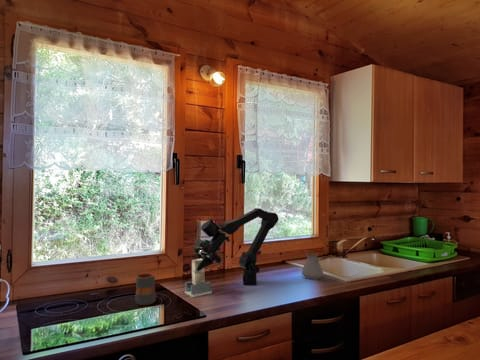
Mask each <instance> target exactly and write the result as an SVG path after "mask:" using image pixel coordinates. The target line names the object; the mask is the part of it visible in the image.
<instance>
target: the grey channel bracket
mask: <svg viewBox="0 0 480 360" xmlns="http://www.w3.org/2000/svg"><path fill="white" fill-rule="evenodd" d="M184 287H185V288H184V289H185V290H184V294H186V295H188V296H190V297H191V298H195V297H196V298H197V297H200V296H205V295H209V294H212V293H213V291H212V282H211V281H205V283H200V284H195V285H194V284H192V280H191V281H186V282H184Z"/></svg>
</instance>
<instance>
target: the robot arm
mask: <svg viewBox="0 0 480 360" xmlns="http://www.w3.org/2000/svg"><path fill="white" fill-rule="evenodd" d="M257 218H260V219H261V220H260V227H259V229H258V231H257V233H256V235H255V237H254V238H253V241H252V243H251V244H250V246H249V248H248V250H247V251H242V253H241V255H240V257H239V258H238V259H239V261H238V263H239V266H240V267H241V270H242V271H243V274H242V284H243V286H257V284H258V273H259V272H260V267H258V265H257V264H256V263H257V259H258V258H257V257H258V253H259V252H260V249H261V247H262V245H263V244H264V242H265V240H266V238H267V236H268V234H269V232H270V230H272V229H273V228H274V227H275V226H276V225H277V223H278V222H279V215H278V214H277V213H276V212H270V211H267V210H264V209H262V208H259V207H258V208H257V207H255V208H254V209H252V210H250V211H248V212H247V213H244V214H242V215H241V216H239V217H237V218H234V219H229V220H226V221H222V222H221V224H216V223H215V221H214V220H213V219H211V218H210V219H209V220H207V221H206V222H204V223H203V224H202V225H201V227H200V230H201V231H202V232H203V233H204V234H205V235H206V236H207V237H208V238H211V239H210V240H209V239H204V240H203V239H198V238H197V239H196V241H195V244H194V245H195V246H194V247H193V249H191V251H192V252H194V254H196V259H203V260H202V261H201V263H200V264H199V266H198V268H197V270H198V271H199V270H201V269H203V268H204V269H205V268H207V267H209V266H211V265H214V264H217V265H221V263H222V258H221V256H220V255H219V254H217V252H220V251H221V246H223V244H224V242H226V243H229V242H230V236H229V235H233V234H235V233H236V232H237V231H238V230H239V229H240V228H241V227H242V226H245V225H246V224H247V223H250V222H251V221H253V220H255V219H257ZM214 261H215V262H214Z"/></svg>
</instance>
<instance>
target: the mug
mask: <svg viewBox="0 0 480 360" xmlns="http://www.w3.org/2000/svg"><path fill="white" fill-rule="evenodd" d="M135 280H136V281H135V287H136V288H135V289H136V290H135V295H134V296H135V297H134V298H135V299H134V300H135V301H134V302H135V304H136V305H138V306H149V305H150V306H151V305H153V304H155V303H156V299H157V297H156V296H157V295H156V290H155V289H156V288H155V285H156V280H155V274H153V273H141V274H138V275H136V277H135Z"/></svg>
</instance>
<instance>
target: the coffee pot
mask: <svg viewBox="0 0 480 360" xmlns="http://www.w3.org/2000/svg"><path fill="white" fill-rule="evenodd" d="M305 254H306V257H307V258H306V260H305V263H304V265H303V267H302V269H301V275H302V277H304V279H306V280H310V281H311V280H312V281H314V280H316V281H317V280H319V279H320V278H322V277H323V275H324V271H323V269H322V267H321V264H320V262H319V261H321V260H326V259H328V258H330V259H331V260H333V258H335V256H334V255H333V254H329V255H326V256H323V257H320V258H318V256H319V253H316V252H306V253H305Z"/></svg>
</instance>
